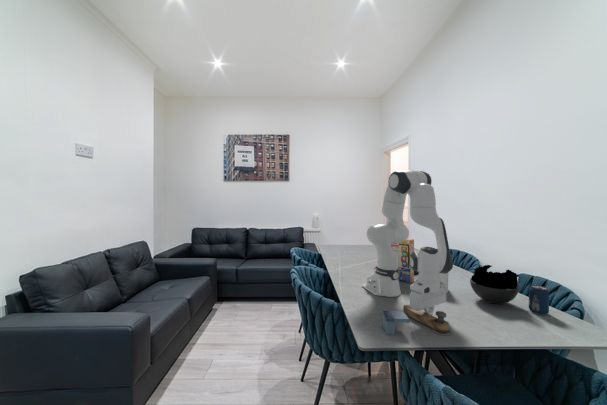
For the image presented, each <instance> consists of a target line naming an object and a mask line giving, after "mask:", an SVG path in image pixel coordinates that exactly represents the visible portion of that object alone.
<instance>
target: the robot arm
mask: <svg viewBox="0 0 607 405" xmlns="http://www.w3.org/2000/svg"><path fill="white" fill-rule="evenodd" d="M407 195H408V196H409V200H410V201H409V214H410V218H411V219H412V221H413V222H414V223H416V224H417V225H419V226H421V227H423V228H424V227H425V228H427V229H429V230H431V231H432V232H433V233H434V235H435V240H436V246H437V247H436V248H437V249H436V248H435V247H431V246H423V247H420V248H419V250H414V252H413V253H412V254H411V255H410V257H409V265H410V267H411V268H412V269H413V270H414V272H418V275H417V279H416V280H414V281H413V282H412V284H410V286H409V288H410V290H411V292H410V294H409V305H410V307H411V308H412V309H414V310H416V311H420V310H421V311H423V312H425V313H427V314H430V315H432V316H434V315H433V312H434V311H435V307H436V306H438V305H442V304H444V303H446V301H447V293H446V290H445V288H444V284H443V283H442V282H440V275H439V273H443V274H446V273H448V274H449V272H451V270H453V268H454V262H453V258H452V254H451V251H450V245H449V241H448V234H447V231H446V230H447V229H446V224H445V222H444V220H443V219H442V218H441V217H439V215H438V213H437V209H436V208H437V207H436V204H437V203H436V201H437V200H436V193H435V189H434V187H433V186H432V177H431V175H430V174H429V173H427V172H426V171H423V170H419V171H418V170H412V169H409V170H395V171H392V173H391V174H390V175H389V177H388V184H387V187H386V190H385V193H384V197H383V201H382V208H381V213H382V215H383V216H384V217H385V218H386V223H378V224H372V225H371V226H369V227H368V228H367V230H366V238H367V240H368V241H369V243H371V244H372V245H373V246H374V248H375V251H376V258H377V266H375V267H374V268H373V269H374V270H375V271H374V272H372V273H371V274H370V275H369V276H367V278H366V282H364V283H363V284H362V285H361V286H362V287H363V289H366V290H367V291H368V292H369V293H371V294H373V295H374V296H378V297H379V296H382V297H389V298H395V297H399V296H401V294H402V292H401V288H400V280H399V279H398V276H399V268H398V254H397V253H396V252H395V251H393V250H392V248H391V243H398V242H402V241H405V240H407V239H409V237H410V230H409V228H408V227H407V225H406V223H405V222H404V210H405V204H406V198H407Z"/></svg>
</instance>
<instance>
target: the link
mask: <svg viewBox="0 0 607 405" xmlns="http://www.w3.org/2000/svg"><path fill="white" fill-rule="evenodd" d="M402 307H403V309H402V311H403V312H404V313H405V314H406V316H407V317H408V318H409V317H410V318H411V319H413V320H416V321H418V322H419V323H421V324H423V325H426V326H427V327H429V328H430V329H431V328H433V329H434V330H435V331H437V332H440V333H448V332H449V330H450V323H449V322H448V321H447V320H445V318H447V313H446V312H444V311H440V310H437V311H435V316H434V315H430V314H427V313H425V312H424V310H420V311H416V310H414V309H412V308H411V307H410V304H405V305H403V306H402Z"/></svg>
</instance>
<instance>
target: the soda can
mask: <svg viewBox="0 0 607 405" xmlns="http://www.w3.org/2000/svg"><path fill="white" fill-rule="evenodd" d="M528 309H529V311H530V312H531V313H532V314H536V315H538V316H539V315H540V316H547V315H548V314H549V312H550V291H549V290H548V287H546V286H542V285H538V284H531V285H530V287H529V289H528Z"/></svg>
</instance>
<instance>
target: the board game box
mask: <svg viewBox="0 0 607 405" xmlns="http://www.w3.org/2000/svg"><path fill="white" fill-rule="evenodd" d="M391 248H392V250H393V251H395V252H396V253H397V254H398V268H399V276H398V279H399V281H401V282H402V281H403V282H407V283H414V282H415V271H414V270H413V269H412V268H411V267H410V265H409V257H410V255H411V254H412V253H413V252H415V239H413V238H407V240H405V241H402V242H398V243H391Z"/></svg>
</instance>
